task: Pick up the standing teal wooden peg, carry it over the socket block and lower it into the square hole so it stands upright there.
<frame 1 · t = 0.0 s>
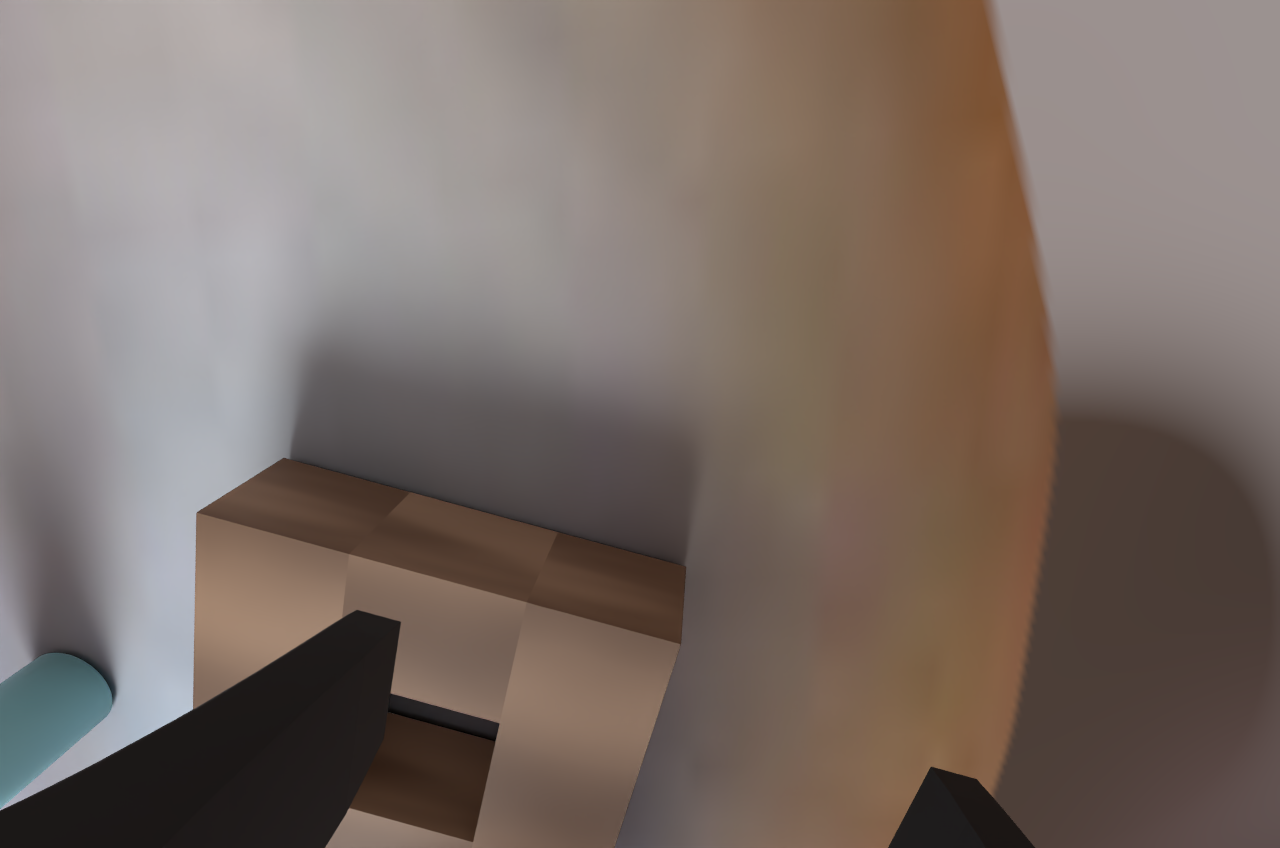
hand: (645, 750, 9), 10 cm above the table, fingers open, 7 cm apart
socket block: (453, 675, 21), on the table
peg: (70, 688, 23), on the table
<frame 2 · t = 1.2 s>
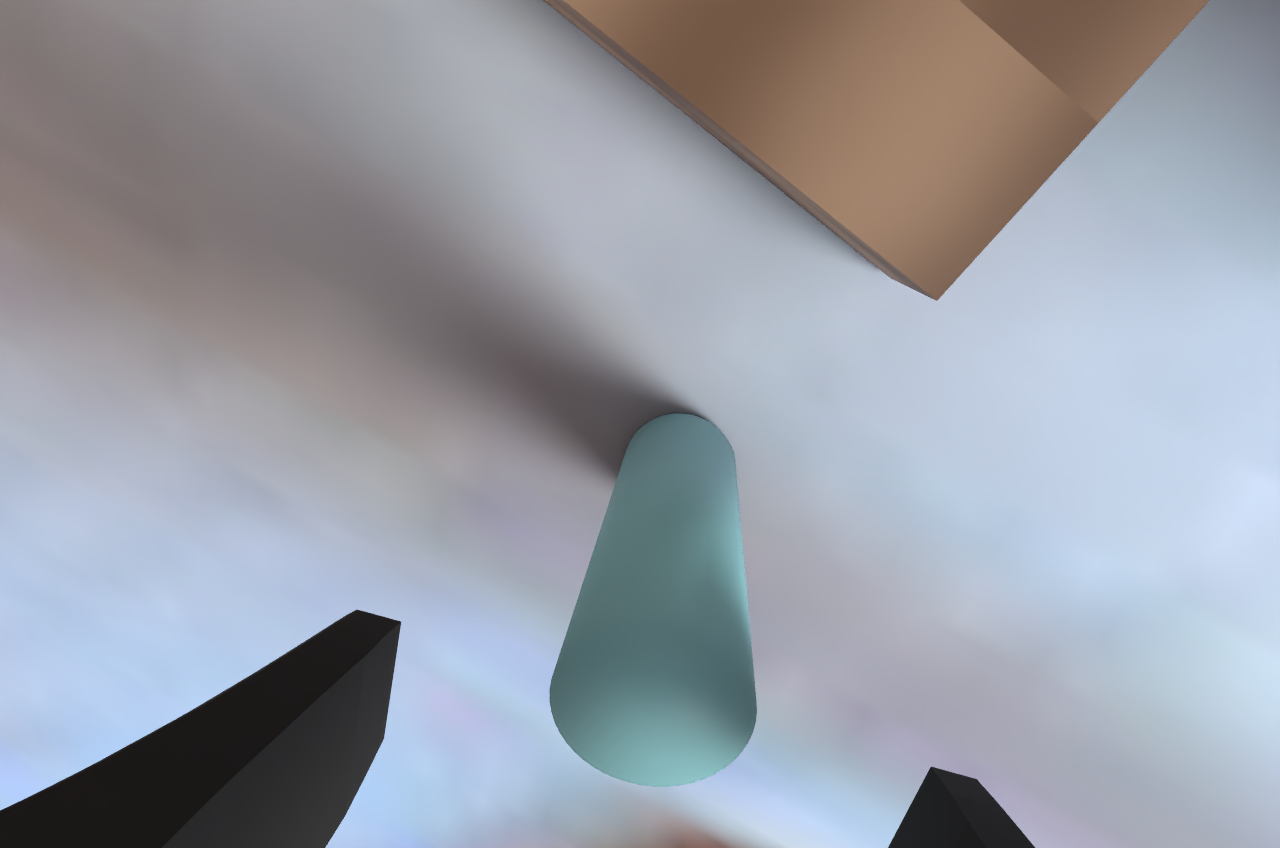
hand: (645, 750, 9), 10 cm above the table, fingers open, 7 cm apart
peg: (679, 466, 18), on the table
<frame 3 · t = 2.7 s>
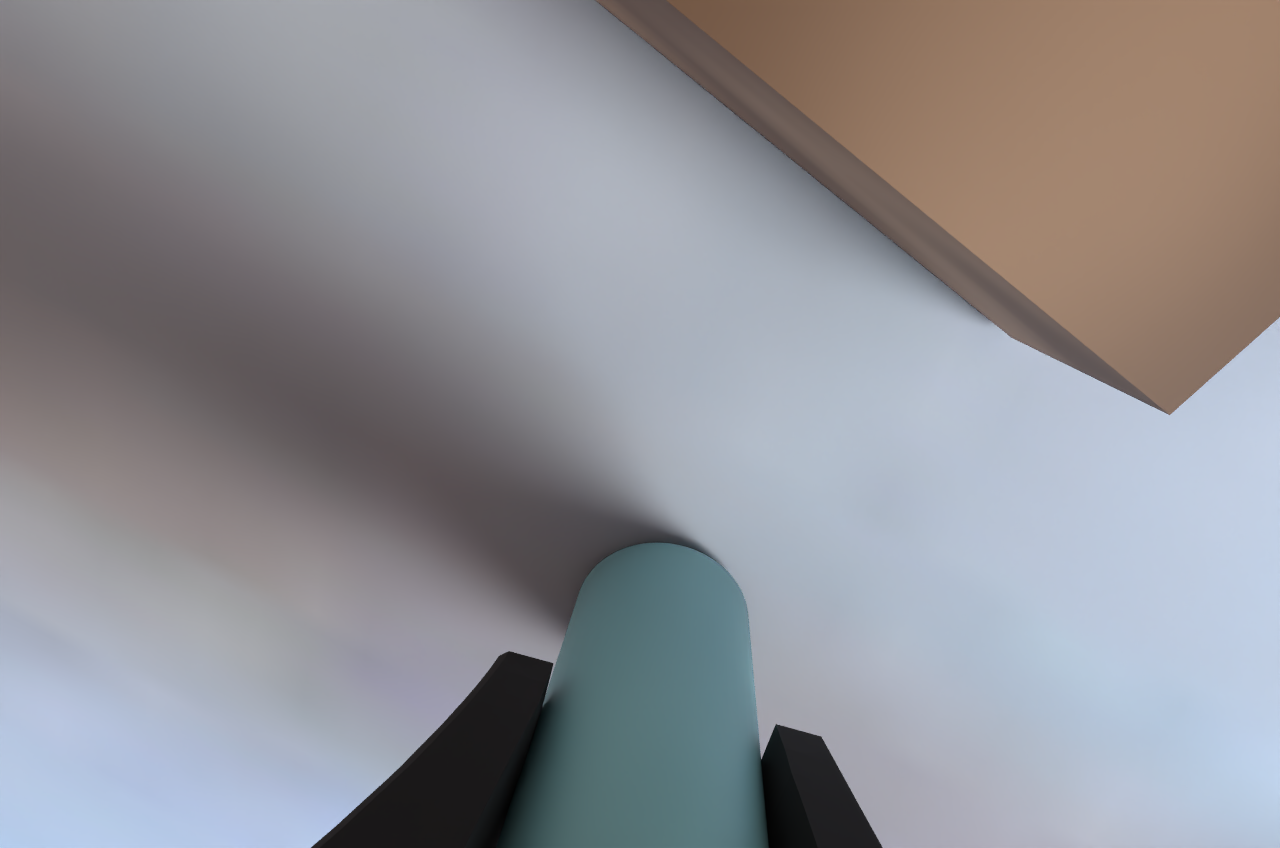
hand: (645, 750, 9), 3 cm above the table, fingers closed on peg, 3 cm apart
peg: (661, 619, 12), on the table, touching gripper
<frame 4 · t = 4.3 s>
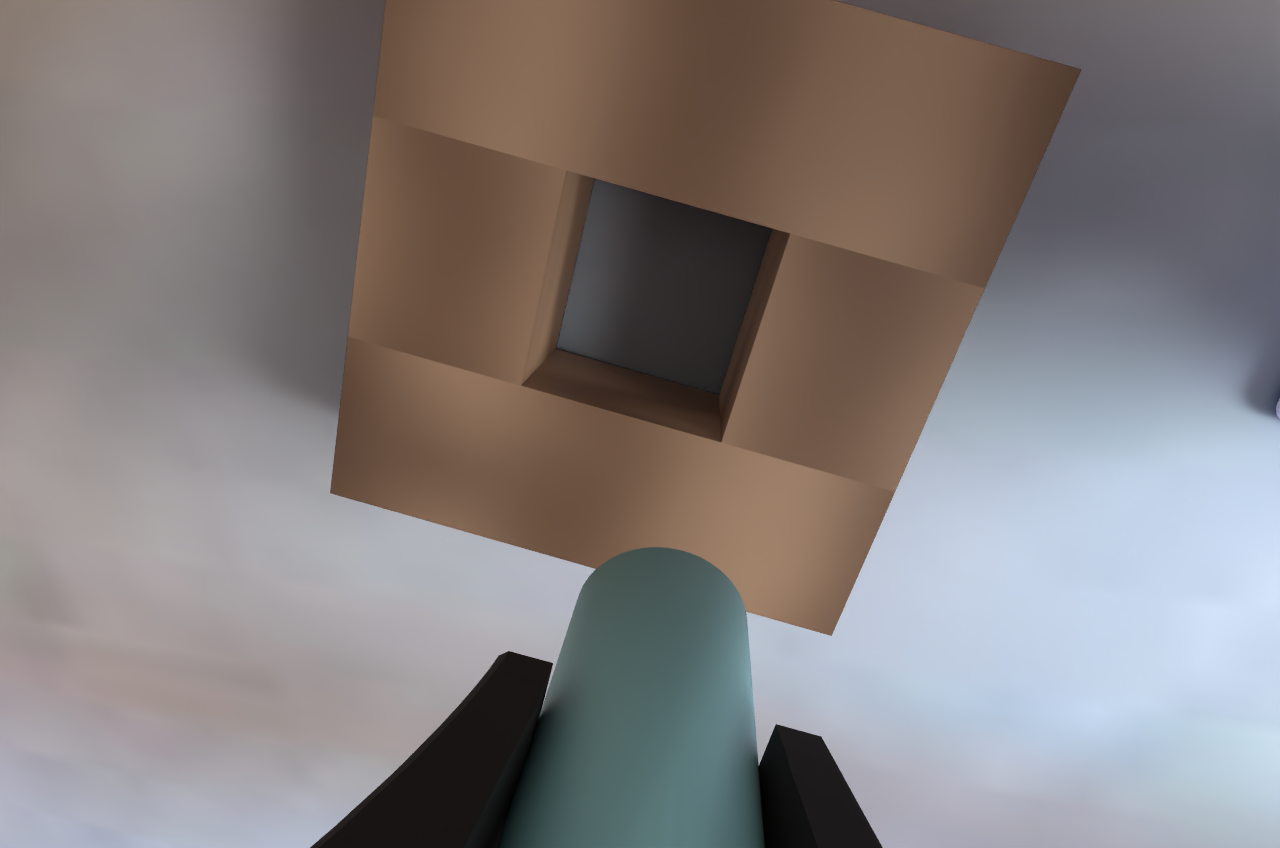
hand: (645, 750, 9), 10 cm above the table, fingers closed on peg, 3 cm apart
socket block: (659, 289, 17), on the table
peg: (660, 622, 12), point 7 cm above the table, touching gripper
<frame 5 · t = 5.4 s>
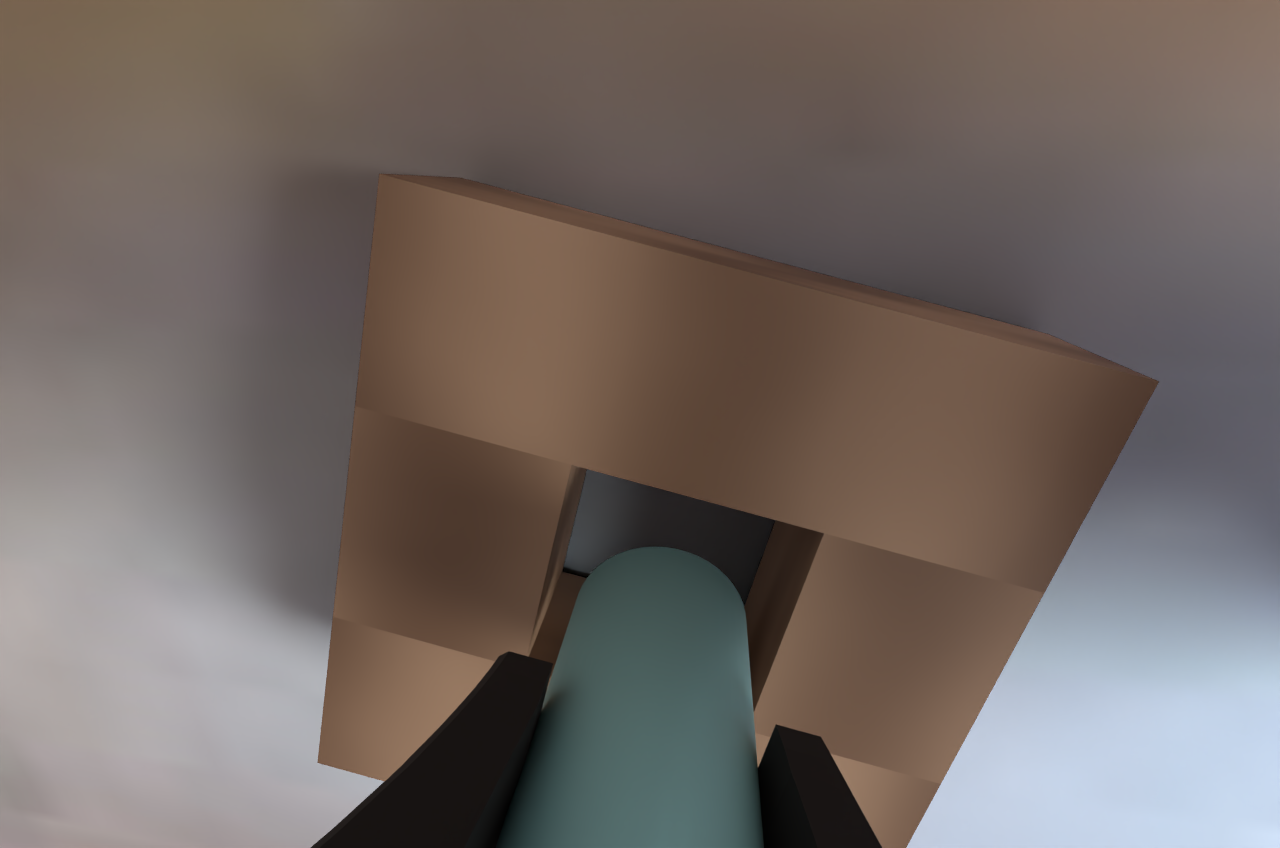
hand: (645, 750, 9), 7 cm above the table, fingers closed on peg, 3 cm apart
socket block: (674, 516, 15), on the table
peg: (659, 622, 12), point 4 cm above the table, touching gripper
when the fingers open (4 cm above the table, at t = 6.3 s): peg drops 1 cm, resting in socket block.
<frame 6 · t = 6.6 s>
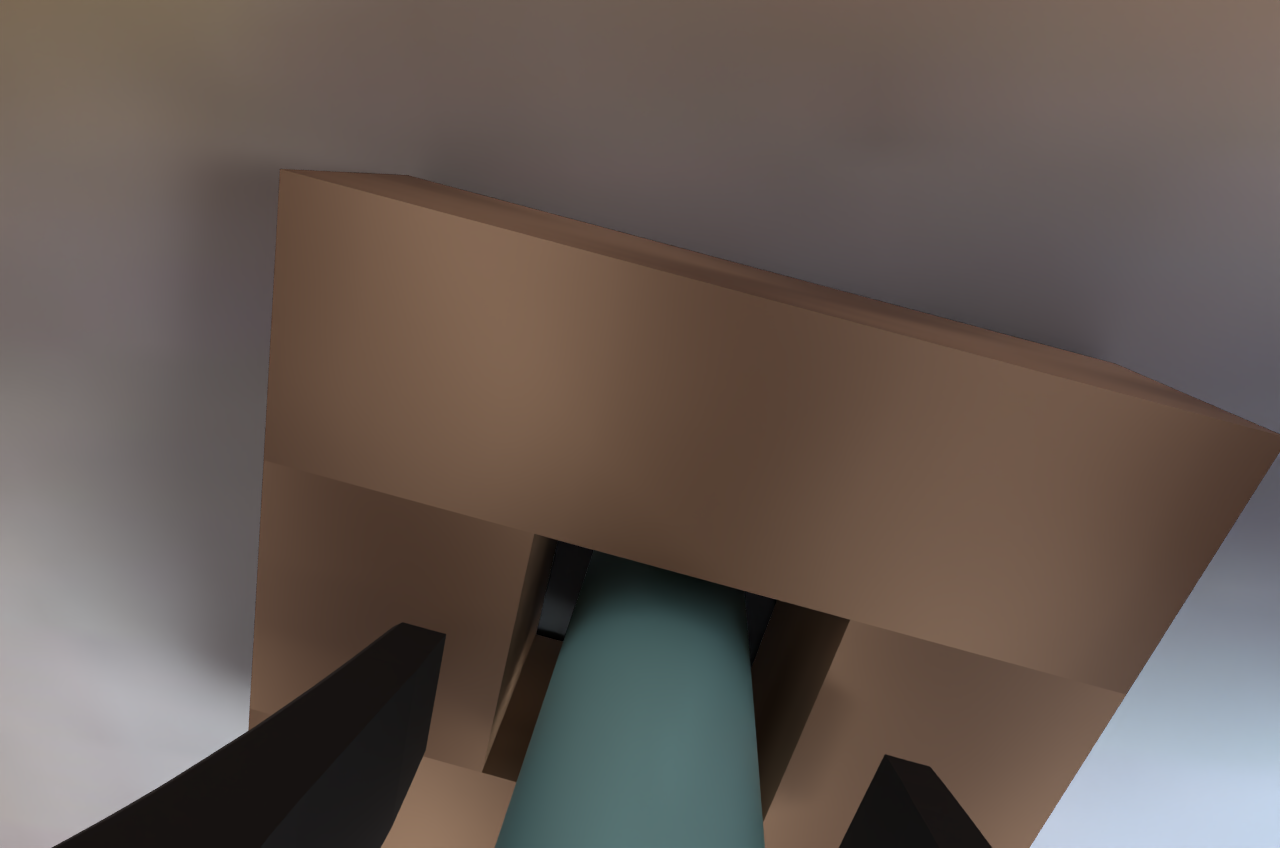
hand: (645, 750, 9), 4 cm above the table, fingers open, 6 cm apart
socket block: (666, 573, 13), on the table
peg: (665, 576, 13), resting in socket block
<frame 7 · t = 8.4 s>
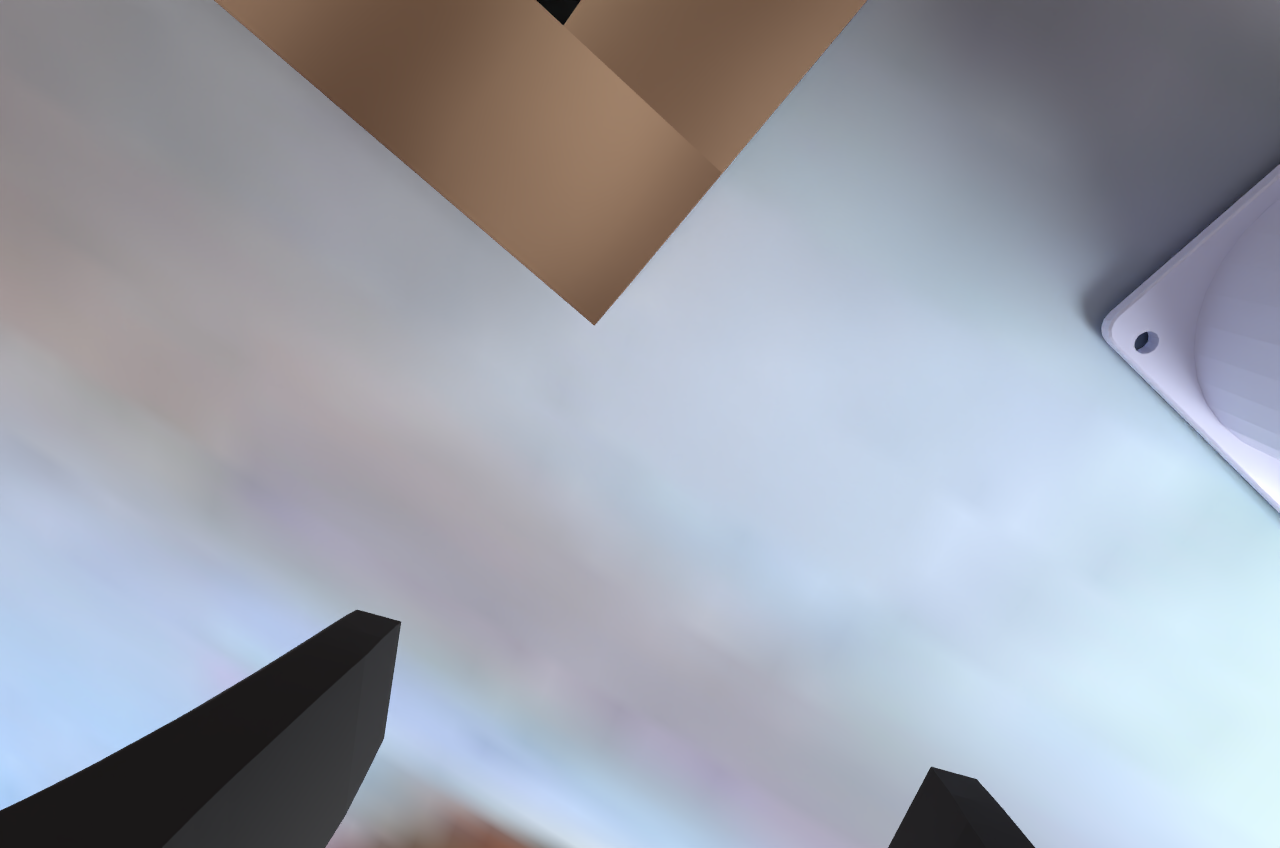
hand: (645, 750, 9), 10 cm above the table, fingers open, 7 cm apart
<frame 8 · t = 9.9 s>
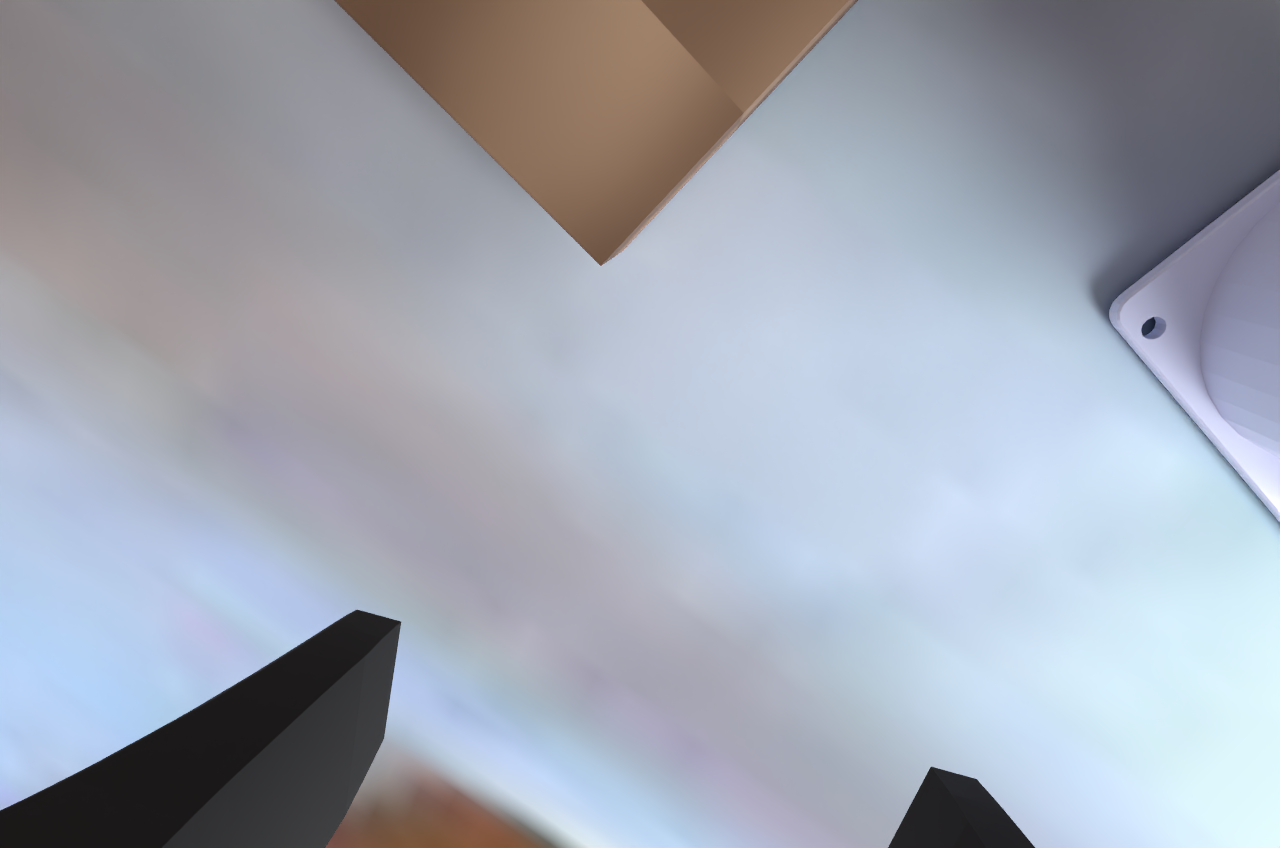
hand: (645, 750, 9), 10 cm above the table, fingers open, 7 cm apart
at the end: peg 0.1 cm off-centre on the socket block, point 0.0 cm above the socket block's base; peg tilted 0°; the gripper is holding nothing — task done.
